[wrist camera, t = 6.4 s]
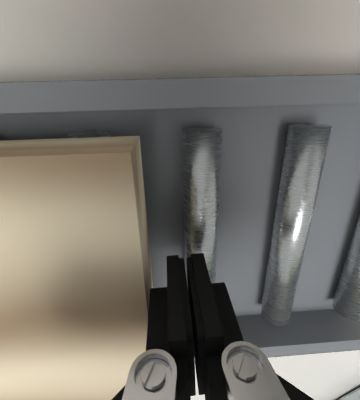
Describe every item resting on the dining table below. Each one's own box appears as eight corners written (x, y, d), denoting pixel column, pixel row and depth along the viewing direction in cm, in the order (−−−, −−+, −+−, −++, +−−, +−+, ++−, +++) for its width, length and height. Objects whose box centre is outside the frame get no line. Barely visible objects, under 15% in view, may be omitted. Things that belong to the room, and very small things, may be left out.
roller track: (-79, 88, 11) (-178, 86, 8) (406, 77, 13) (493, 71, 9) (20, 327, 18) (-13, 380, 15) (334, 304, 19) (370, 349, 16)
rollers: (-35, 134, 11) (-70, 141, 10) (412, 119, 12) (451, 123, 11) (34, 320, 16) (19, 346, 14) (351, 297, 17) (371, 319, 15)
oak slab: (-71, 143, 9) (-169, 163, 7) (139, 135, 10) (130, 152, 7) (20, 350, 14) (-14, 412, 11) (157, 340, 15) (156, 397, 12)
